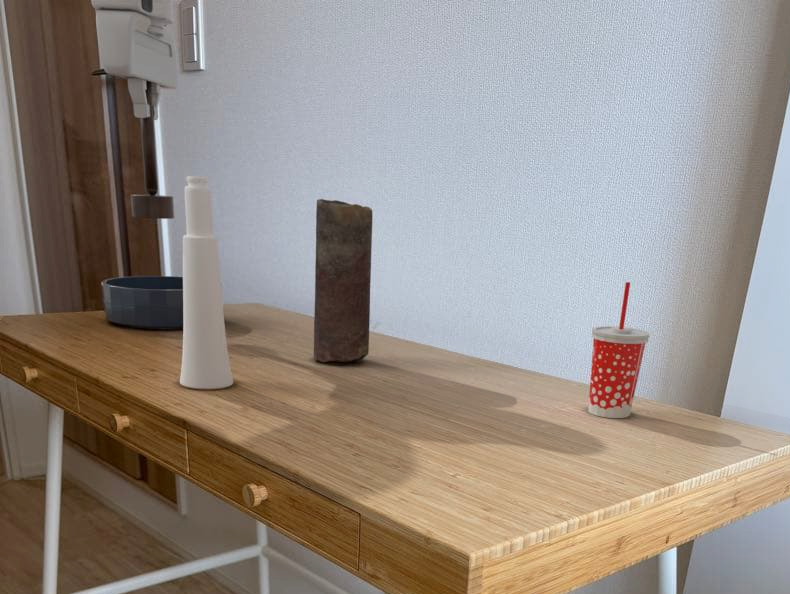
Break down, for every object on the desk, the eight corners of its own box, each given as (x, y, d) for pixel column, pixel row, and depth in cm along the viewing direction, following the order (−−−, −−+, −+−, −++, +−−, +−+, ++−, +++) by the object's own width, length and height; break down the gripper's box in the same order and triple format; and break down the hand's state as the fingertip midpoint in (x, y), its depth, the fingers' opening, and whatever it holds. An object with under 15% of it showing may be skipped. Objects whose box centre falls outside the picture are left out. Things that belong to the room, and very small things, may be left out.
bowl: (85, 326, 126) (81, 285, 124) (131, 309, 143) (128, 273, 140) (203, 334, 125) (201, 293, 123) (235, 316, 142) (234, 279, 139)
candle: (335, 352, 117) (337, 199, 109) (379, 360, 113) (385, 202, 105) (302, 360, 111) (302, 198, 103) (347, 369, 107) (351, 201, 99)
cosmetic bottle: (191, 391, 92) (179, 176, 84) (172, 380, 97) (159, 174, 88) (241, 387, 95) (235, 178, 87) (221, 376, 100) (213, 177, 91)
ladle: (125, 216, 121) (114, 69, 114) (141, 215, 127) (131, 75, 119) (166, 219, 121) (157, 71, 113) (179, 217, 126) (172, 77, 119)
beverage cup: (602, 403, 97) (620, 278, 91) (647, 414, 93) (669, 284, 87) (569, 410, 93) (586, 280, 87) (616, 423, 89) (636, 287, 83)
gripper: (144, 18, 123) (151, 122, 128) (84, -12, 104) (94, 112, 109) (186, 20, 122) (191, 124, 128) (133, -10, 103) (141, 114, 109)
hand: (146, 119), depth 118 cm, fingers closed on ladle
